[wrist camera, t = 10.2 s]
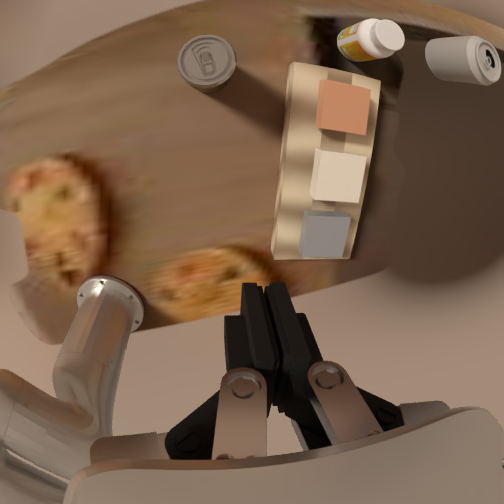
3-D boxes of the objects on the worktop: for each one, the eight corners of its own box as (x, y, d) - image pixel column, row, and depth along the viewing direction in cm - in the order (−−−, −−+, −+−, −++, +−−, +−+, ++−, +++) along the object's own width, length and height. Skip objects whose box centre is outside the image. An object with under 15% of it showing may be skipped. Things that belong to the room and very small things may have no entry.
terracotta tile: (352, 131, 34) (365, 135, 31) (310, 125, 34) (320, 128, 30) (357, 89, 31) (371, 89, 28) (314, 80, 31) (325, 79, 27)
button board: (342, 249, 46) (349, 258, 43) (270, 249, 44) (274, 259, 42) (370, 81, 33) (380, 80, 30) (288, 64, 31) (294, 61, 29)
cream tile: (346, 193, 38) (358, 202, 34) (305, 190, 37) (314, 199, 33) (353, 150, 35) (366, 156, 31) (311, 145, 34) (321, 150, 31)
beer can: (235, 86, 32) (244, 78, 22) (193, 98, 32) (183, 95, 22) (224, 49, 29) (229, 26, 19) (183, 61, 29) (168, 42, 19)
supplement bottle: (372, 63, 31) (412, 59, 23) (338, 61, 31) (374, 53, 23) (367, 30, 29) (406, 18, 20) (333, 27, 29) (366, 10, 20)
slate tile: (332, 244, 43) (342, 257, 39) (295, 244, 42) (301, 257, 39) (340, 207, 40) (350, 217, 37) (300, 205, 39) (308, 215, 36)
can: (458, 71, 32) (509, 77, 21) (435, 87, 33) (488, 94, 23) (439, 34, 28) (490, 30, 18) (414, 47, 30) (467, 43, 20)
